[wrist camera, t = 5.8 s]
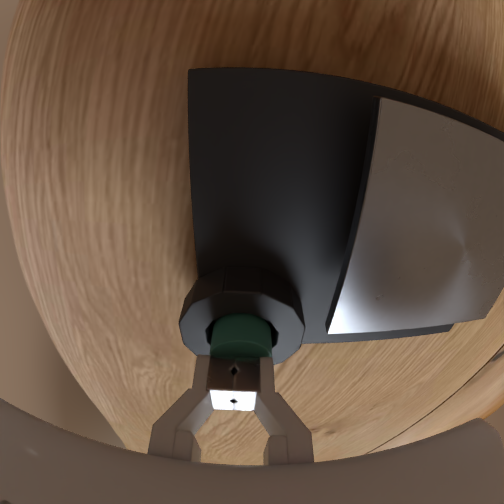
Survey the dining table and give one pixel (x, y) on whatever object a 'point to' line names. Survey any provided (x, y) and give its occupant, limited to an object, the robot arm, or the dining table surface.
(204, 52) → the dining table surface
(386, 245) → the scale pan
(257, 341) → the tare button
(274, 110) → the scale
